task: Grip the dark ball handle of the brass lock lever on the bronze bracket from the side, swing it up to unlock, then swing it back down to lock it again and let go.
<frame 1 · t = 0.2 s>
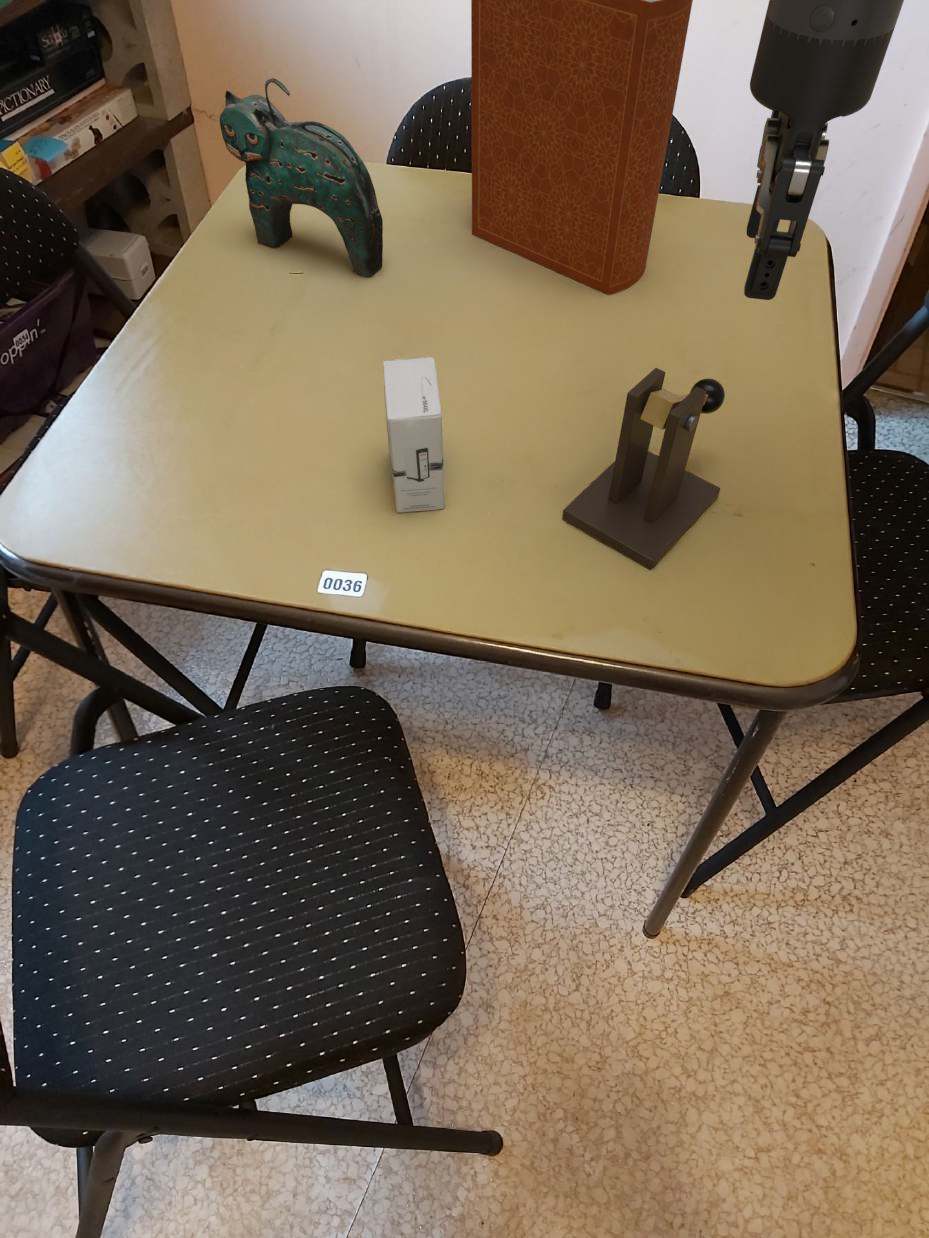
hand: (758, 265, 63), 24 cm above the table, tool pointing down, fingers open, 8 cm apart
book: (560, 252, 108), on the table
lock lever: (686, 402, 75), point 10 cm above the table, hinge at -25.0°
ink box: (417, 483, 83), on the table
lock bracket: (640, 508, 81), on the table
ceramic cat: (318, 254, 108), on the table
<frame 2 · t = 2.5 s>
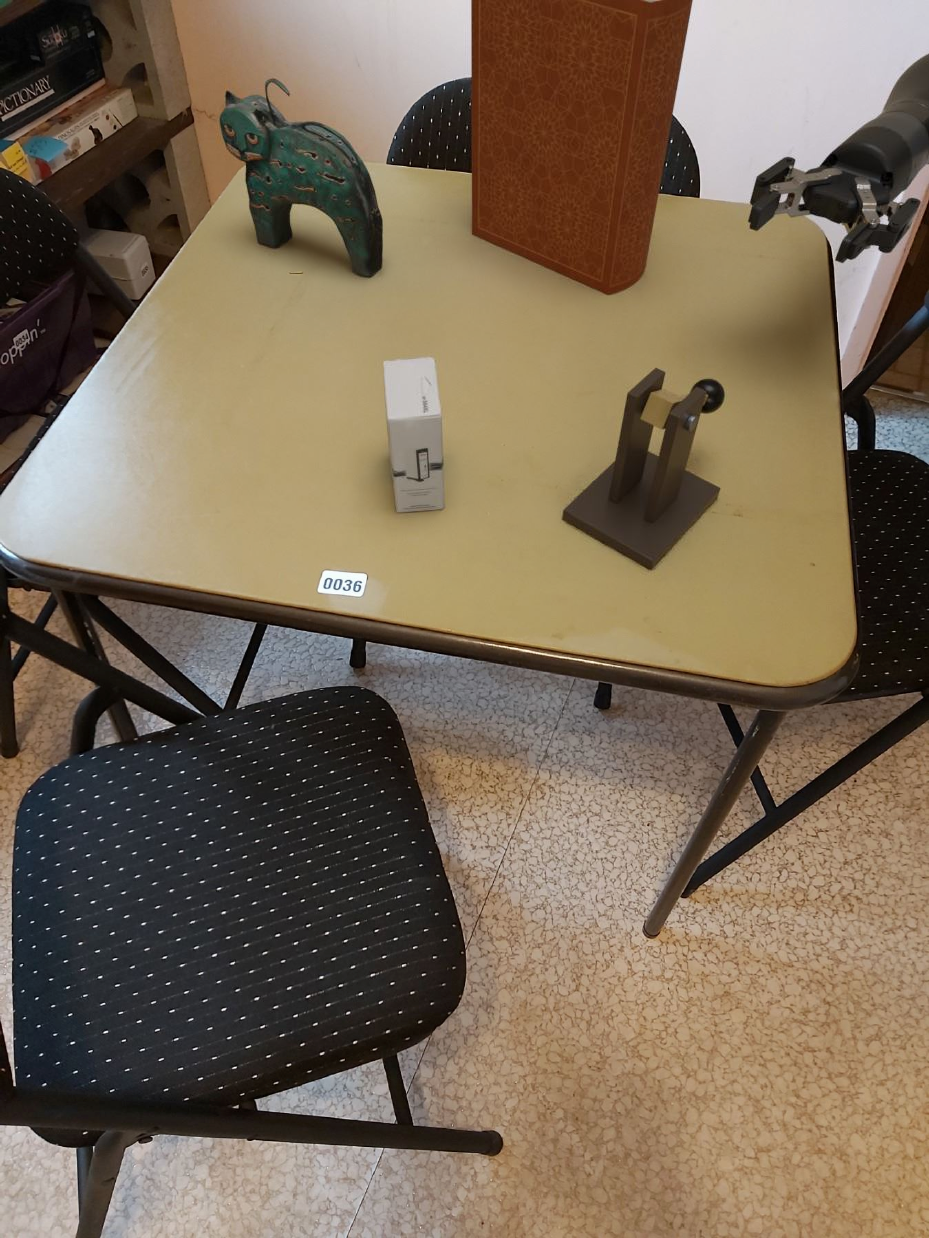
hand: (797, 236, 75), 18 cm above the table, tool horizontal, fingers open, 8 cm apart
nothing on the table moved.
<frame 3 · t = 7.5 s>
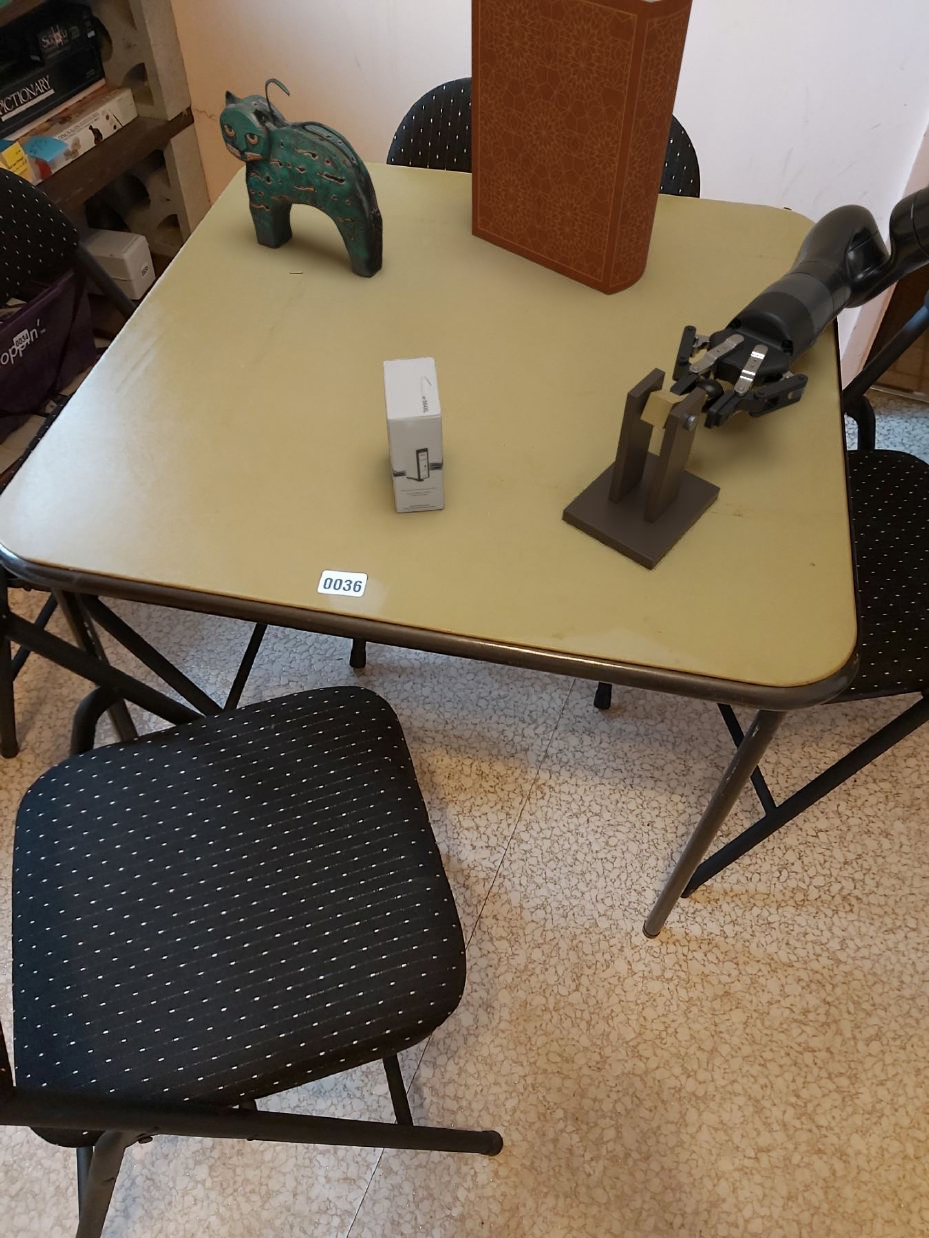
hand: (691, 411, 77), 8 cm above the table, tool horizontal, fingers closed on lock lever, 3 cm apart
lock lever: (686, 402, 75), point 10 cm above the table, hinge at -25.0°, touching gripper
everything else where it was.
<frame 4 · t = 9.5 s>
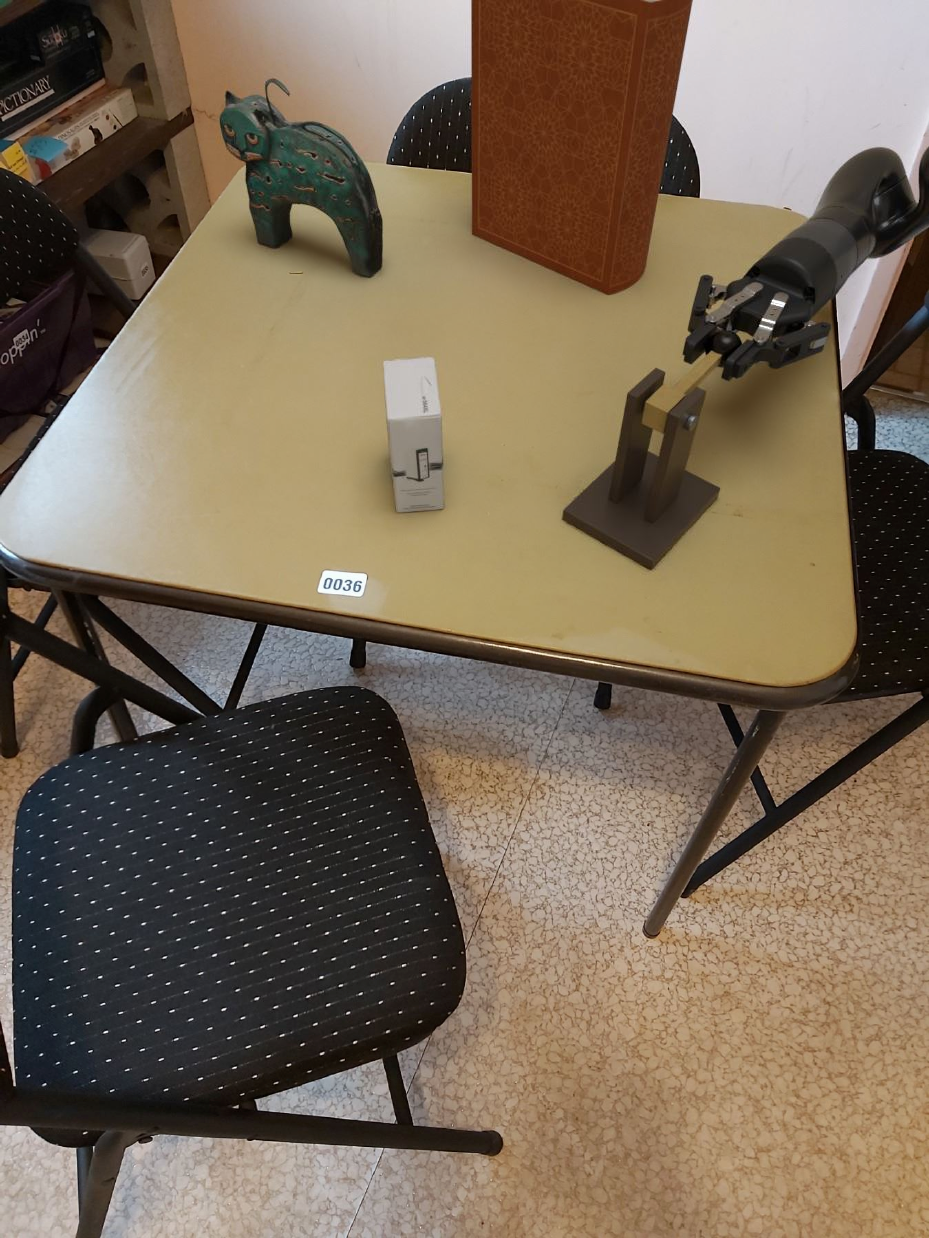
hand: (708, 362, 74), 13 cm above the table, tool horizontal, fingers closed on lock lever, 3 cm apart
lock lever: (695, 377, 73), point 12 cm above the table, hinge at 2.5°, touching gripper
everything else where it was.
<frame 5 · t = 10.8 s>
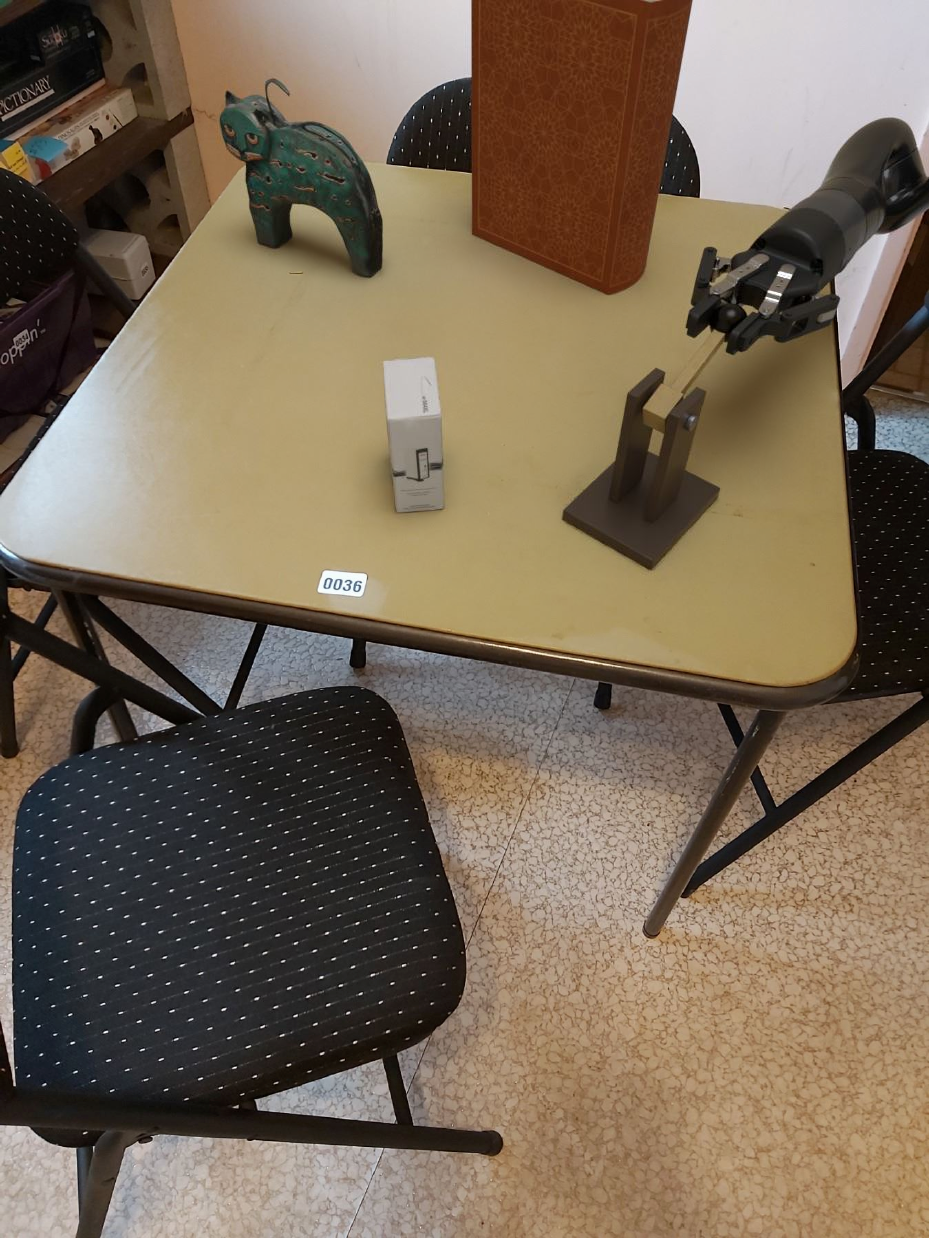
hand: (711, 336, 71), 16 cm above the table, tool horizontal, fingers closed on lock lever, 3 cm apart
lock lever: (696, 364, 72), point 14 cm above the table, hinge at 19.9°, touching gripper
everything else where it was.
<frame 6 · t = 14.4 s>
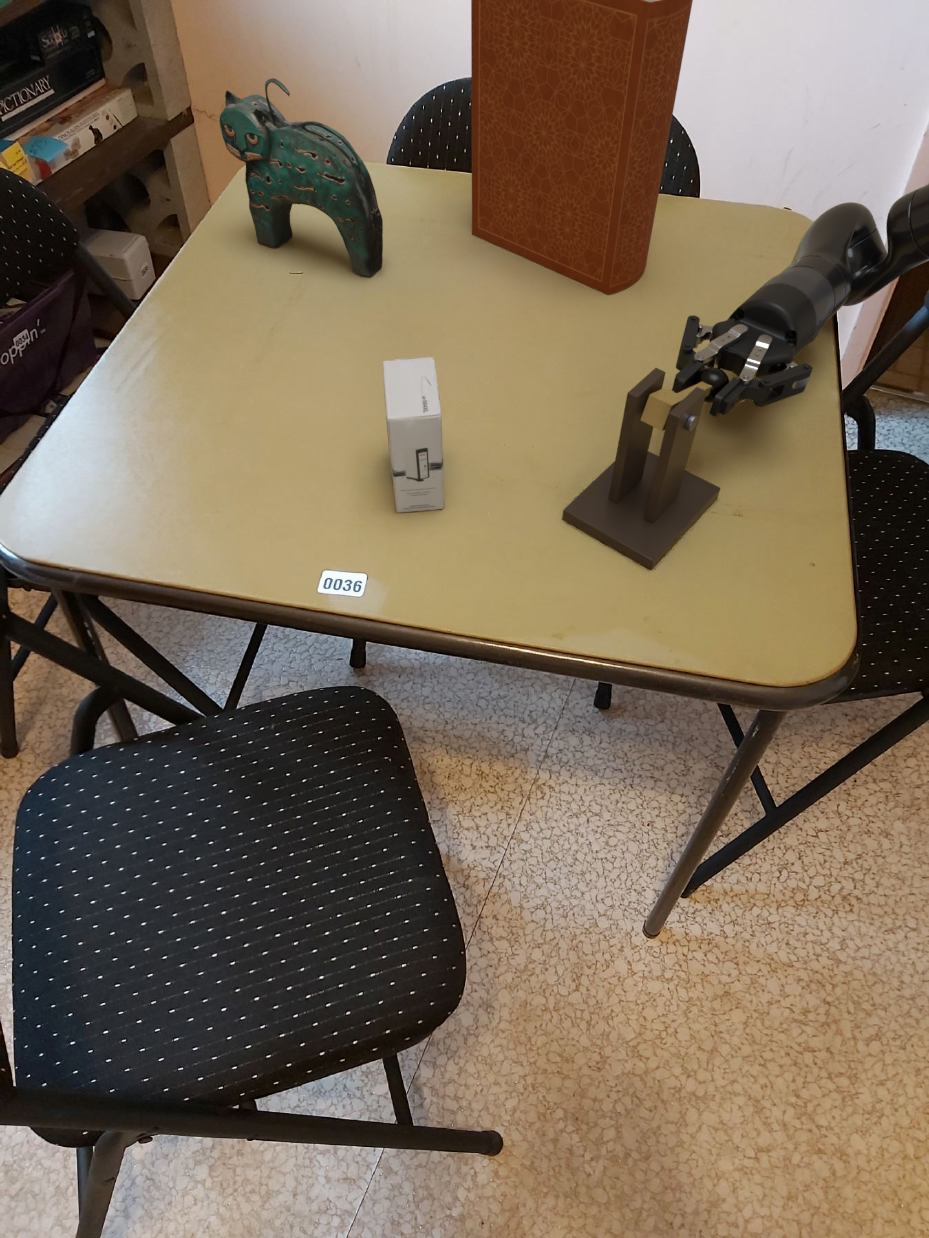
hand: (696, 399, 76), 9 cm above the table, tool horizontal, fingers closed on lock lever, 3 cm apart
lock lever: (689, 396, 75), point 10 cm above the table, hinge at -18.9°, touching gripper
everything else where it was.
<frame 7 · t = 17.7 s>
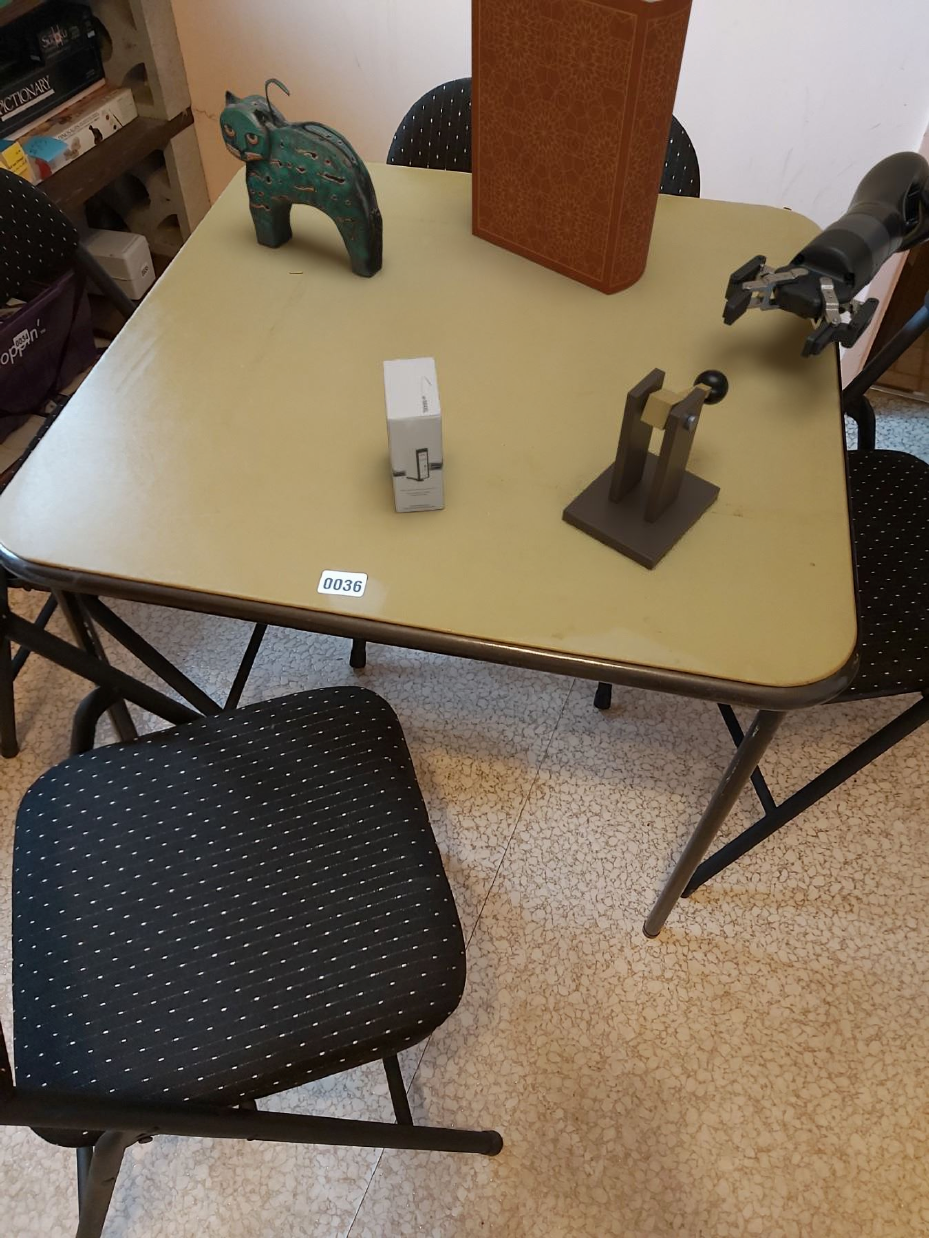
hand: (766, 333, 83), 9 cm above the table, tool horizontal, fingers open, 8 cm apart
lock lever: (688, 397, 75), point 10 cm above the table, hinge at -20.0°
everything else where it was.
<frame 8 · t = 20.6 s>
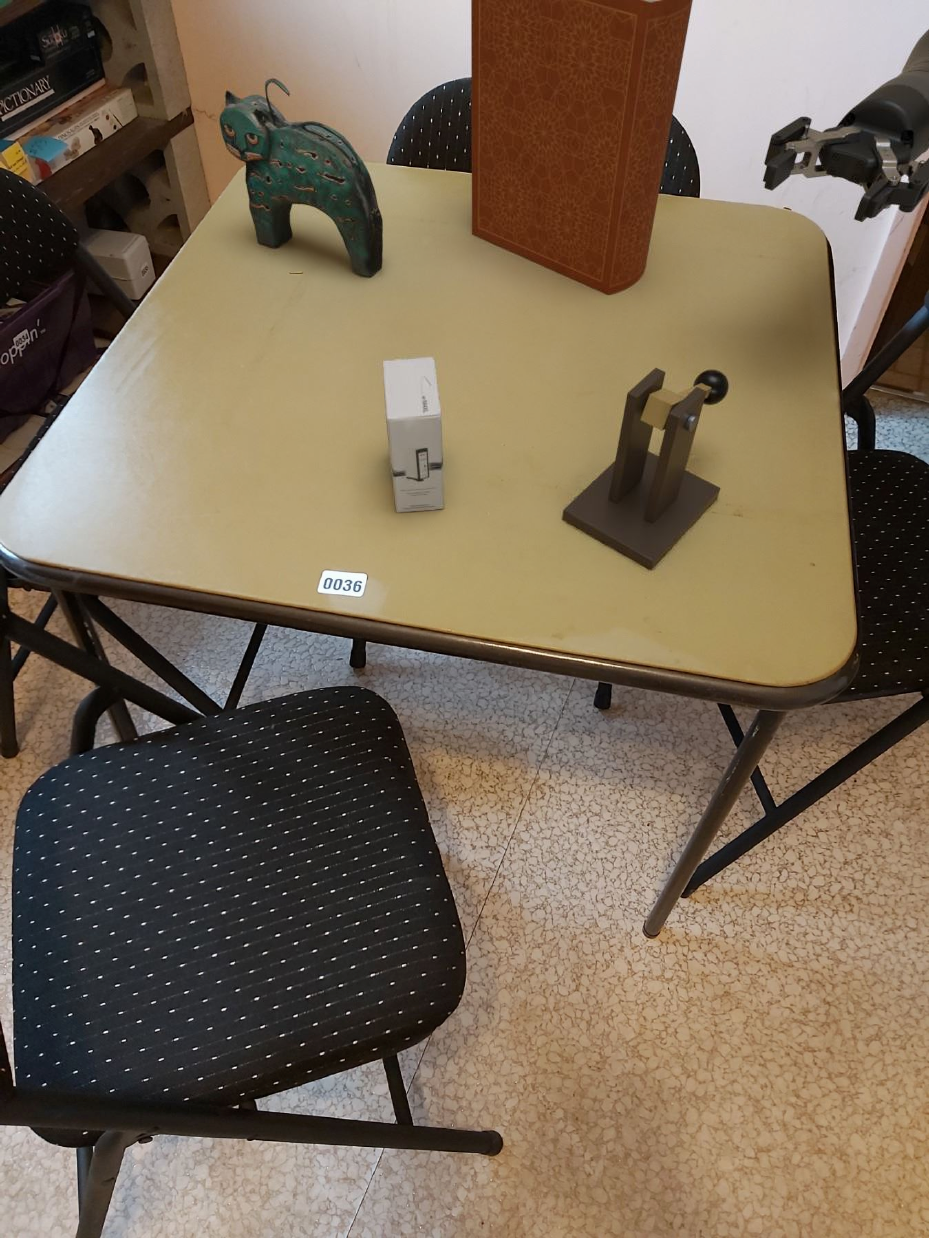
hand: (814, 194, 72), 22 cm above the table, tool horizontal, fingers open, 8 cm apart
nothing on the table moved.
at the end: lock lever reached +20° during the clip, -20° at the end; lock lever at -20° (first picture: -25°); the gripper is holding nothing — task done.
